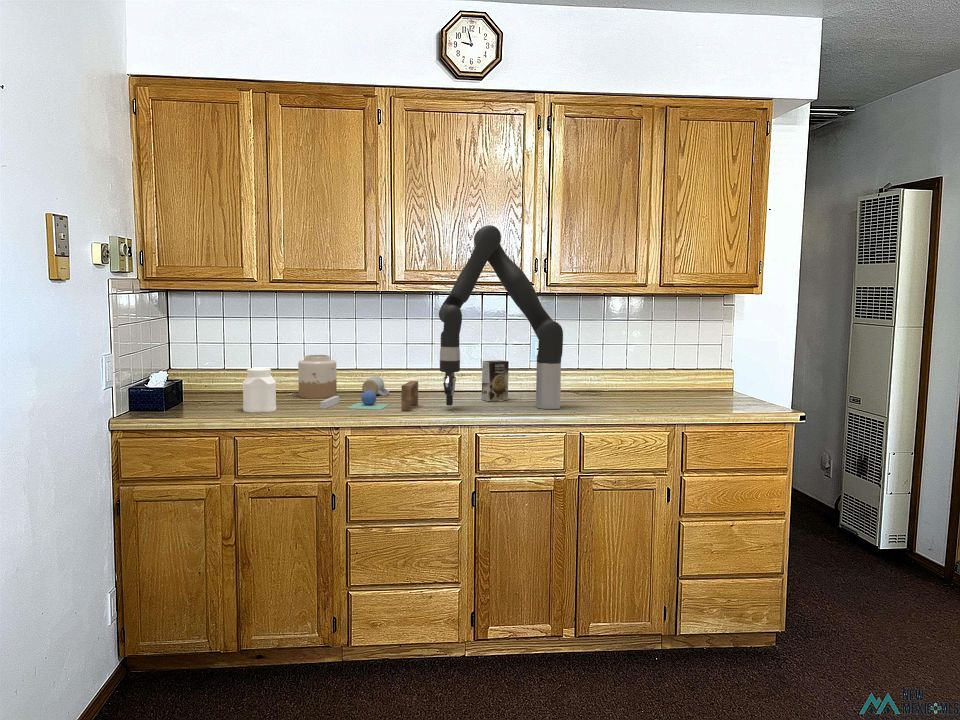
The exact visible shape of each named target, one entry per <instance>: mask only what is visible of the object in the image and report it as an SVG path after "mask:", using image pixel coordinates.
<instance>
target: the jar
mask: <svg viewBox="0 0 960 720" xmlns="http://www.w3.org/2000/svg"><path fill="white" fill-rule="evenodd" d="M246 373H247V374H246V375H247V376H246V377H245V379H244V380H243V382H242V398H243V399H242V400H243V404H242V405H243V406H242V411H243V412H245V413H271V412H275V411H276V410H277V395H276V394H277V393H276V392H277V391H276V389H277V388H276V387H277V381H276V380H275V379H274V377H273V376H272V368H268V367H253V368H252V367H251V368H247V372H246Z"/></svg>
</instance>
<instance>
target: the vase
mask: <svg viewBox="0 0 960 720" xmlns="http://www.w3.org/2000/svg"><path fill="white" fill-rule="evenodd" d="M297 365H298V367H297V368H298V374H297V375H298V379H297V380H298V397H300V398H301V399H310V400H312V399H313V400H316V399H317V400H319V399H322V400H325V399H328V398H331V397H333V396H338V395H337V392H338V390H337V385H338V384H337V383H338V382H337V361H336V360H333V359H331V357H330V355H327V354H308V355H305V356H304V360H299V361H298V363H297Z"/></svg>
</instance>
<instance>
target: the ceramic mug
mask: <svg viewBox="0 0 960 720" xmlns="http://www.w3.org/2000/svg"><path fill="white" fill-rule="evenodd" d="M361 389H362V392H363V393H364V392H366V391H372V392H374V393H375V395H376V396H377V395H380V396H383V397H388V396H389V393H390V391H389V390H388V389H386V388H385V382H384V380H383V379H382V378H381V377H379V376H376V375H373V376H371V377H369V378H367V379H365V381H364V382H363V383H362V386H361Z"/></svg>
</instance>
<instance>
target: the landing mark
mask: <svg viewBox="0 0 960 720" xmlns="http://www.w3.org/2000/svg"><path fill="white" fill-rule="evenodd" d="M390 405H391V404H390V403H374V404H373V405H365V404H364V403H363V402H357V403H354V404H352V405H351V406H348V407H347V408H346V409H347V410H370V411H371V410H375V411H377V410H378V411H381V410H383V409H384V408H386V407H388V406H390Z"/></svg>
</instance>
